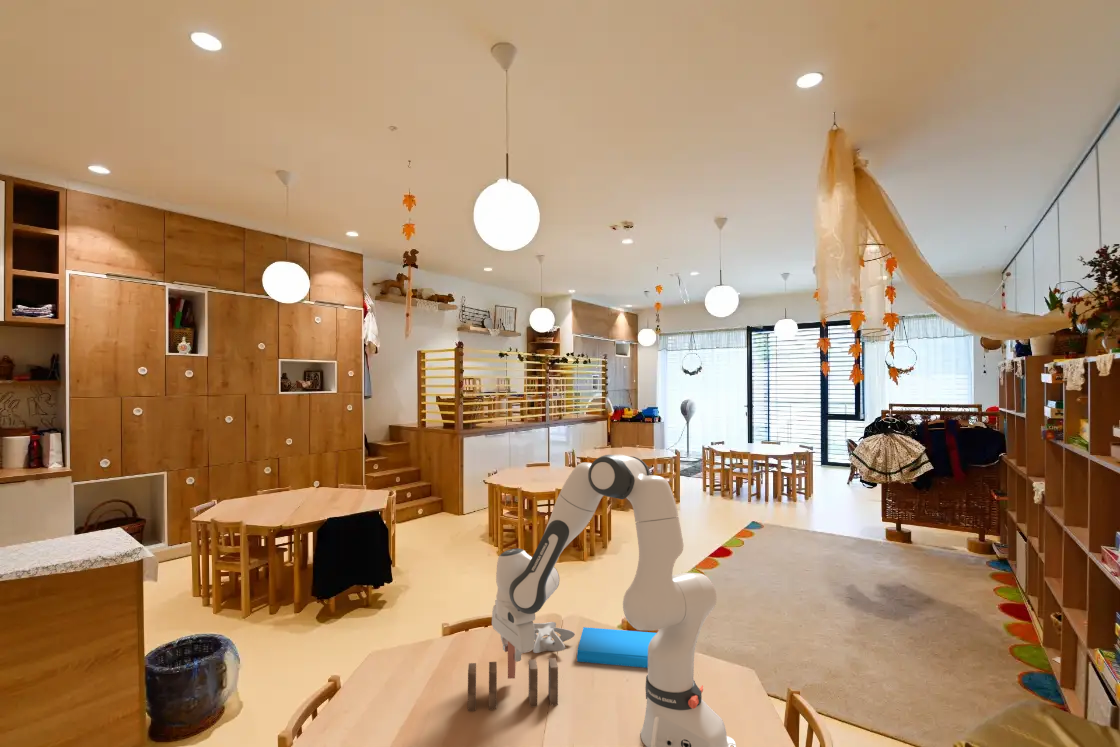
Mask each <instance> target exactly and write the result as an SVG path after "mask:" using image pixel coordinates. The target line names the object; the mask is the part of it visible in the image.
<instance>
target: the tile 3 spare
mask: <svg viewBox="0 0 1120 747" xmlns="http://www.w3.org/2000/svg"><path fill="white" fill-rule="evenodd" d="M515 651H516V650H515V647H514V646H513V645H512V644H511V643H510V642H508V651H507V679H516V669H517V668H516V663H517V662H516V661H515V660H514V659H513V654H514V653H515Z"/></svg>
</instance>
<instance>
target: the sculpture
mask: <svg viewBox="0 0 1120 747" xmlns="http://www.w3.org/2000/svg"><path fill="white" fill-rule="evenodd" d="M533 623H534V629H535V639H534V648H533V650H532V652H533V653H534V654H537V653H541V652H546V651H549V652H551V651H552V652H553V651H554V652H561V651H564V650H565V649H566V645H565V644H564V642H566V641H568V640H571V639H572V638H574V637H575V636H576V634H575V632H574V631H572V630H570V629H566V628H561V627H556V626H557V623H556V622H554V621H549V622H542V623H540V622H537V623H536V622H533ZM559 634H560V636H559ZM552 639H553V640H552Z"/></svg>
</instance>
